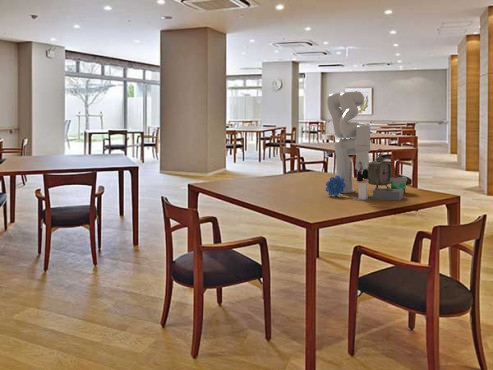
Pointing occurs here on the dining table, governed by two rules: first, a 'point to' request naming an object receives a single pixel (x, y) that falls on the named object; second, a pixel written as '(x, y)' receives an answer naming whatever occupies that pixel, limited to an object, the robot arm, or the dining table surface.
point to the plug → (363, 189)
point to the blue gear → (335, 186)
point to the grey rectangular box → (388, 194)
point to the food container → (399, 183)
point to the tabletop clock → (380, 171)
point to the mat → (362, 199)
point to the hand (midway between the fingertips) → (362, 179)
